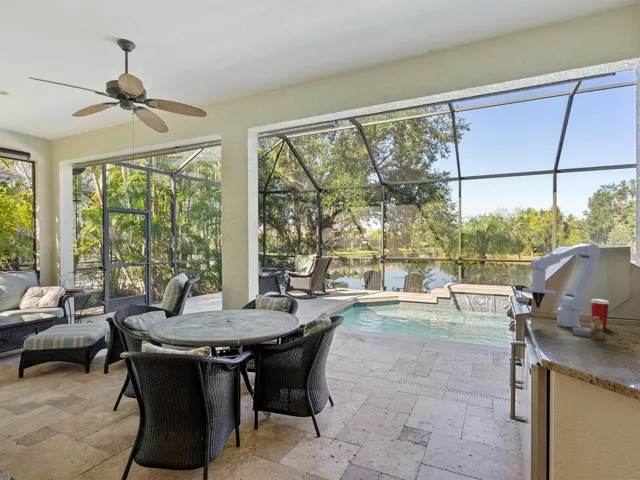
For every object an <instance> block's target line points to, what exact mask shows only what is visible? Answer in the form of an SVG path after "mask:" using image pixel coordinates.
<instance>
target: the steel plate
mask: <svg viewBox="0 0 640 480" xmlns="http://www.w3.org/2000/svg"><path fill="white" fill-rule="evenodd" d="M572 335H573V336H578V337H584V338H591V327H590V328H588V327H583V326H582V327H581V326H580V327H575V326H573V328H572Z"/></svg>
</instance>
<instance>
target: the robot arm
mask: <svg viewBox="0 0 640 480" xmlns="http://www.w3.org/2000/svg"><path fill="white" fill-rule="evenodd" d="M601 253H602V250H601V248H600V247H599V245H598V244H595V243H578V244H575V245H573V246H571V247H569V248H567V249H564V250H562V251H560V252H558V253H557V252H553V251H551V252H548V254H546V255H542V256H541V255H540V258H538V257H537V258H534V259H532V261H531V263H530V267H531V268H532V287H531V288H526V287H524V288H523V287H522V293H531V294H532V297H533V299H534V302H535V306H536V309H537V308H538V309H539V308H541V304H542V301H543V299H544V297H545V295H549V296H550V295H551V296H556V291H555V290H548V289H546V270H547V269H548V268H549V267H551V266H554V265H556V264H559V263H560V262H562V260H563V259H566V258H569V257H571V256H574V255H578V256H579V258H581V260H582V261H583V265H582V267H581V268H580V270H579V273H578V275H577V276H576V278H575V280H574V282H573V283H572V286H571V287H570V289H569V290H567V291H565V293H564V294H563V295H562V296H560V298H559V304H560V305H561V307H558V308H557V309H558V310H557V317H556V318H557V319H556V322H557V326H559V327H566V328H567V327H568V328H571V329H573V326H575V327H581V325H580V311H581V309H582V308H583V306H584V300H585V297H584V295H583V294H584V292H585V291H586V288H587V287H588V285H589V283H590V281H591V279H592V277H593V275H594V273H595V272H596V270H597V268H598V265H599V262H600V255H601Z"/></svg>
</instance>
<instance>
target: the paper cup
mask: <svg viewBox="0 0 640 480" xmlns="http://www.w3.org/2000/svg"><path fill="white" fill-rule="evenodd" d="M590 305H591V306H590V307H591V322H593V316H596V317H599V322H601V324H602V328H603V329H607V322H608V315H609V314H608V311H609V305H610V303H609V300H607V299H602V298H591V300H590Z"/></svg>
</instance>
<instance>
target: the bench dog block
mask: <svg viewBox="0 0 640 480" xmlns="http://www.w3.org/2000/svg"><path fill="white" fill-rule="evenodd" d="M590 329H591V337H590V339H591V340H597V341H601V342H602V341H603V340H604V339H603V338H604V328H602V324H601V322H599V317H596V316H593V322H592V321H590Z"/></svg>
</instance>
